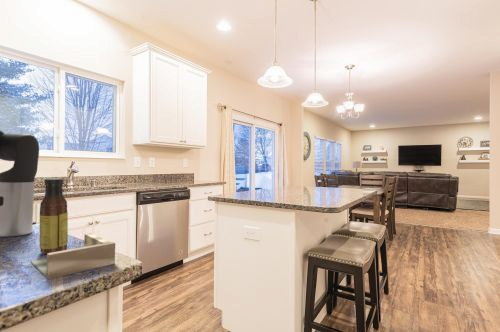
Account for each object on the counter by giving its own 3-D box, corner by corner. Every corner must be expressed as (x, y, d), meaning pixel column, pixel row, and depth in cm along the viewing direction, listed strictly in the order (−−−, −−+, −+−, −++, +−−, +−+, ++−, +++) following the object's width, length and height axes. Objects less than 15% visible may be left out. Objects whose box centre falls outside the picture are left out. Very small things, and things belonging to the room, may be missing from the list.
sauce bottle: (63, 247, 79) (66, 177, 79) (70, 251, 75) (74, 178, 75) (34, 251, 74) (38, 177, 74) (41, 257, 70) (45, 179, 70)
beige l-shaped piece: (31, 262, 66) (31, 241, 66) (91, 251, 77) (92, 232, 77) (48, 279, 57) (49, 255, 57) (114, 263, 68) (115, 243, 68)
